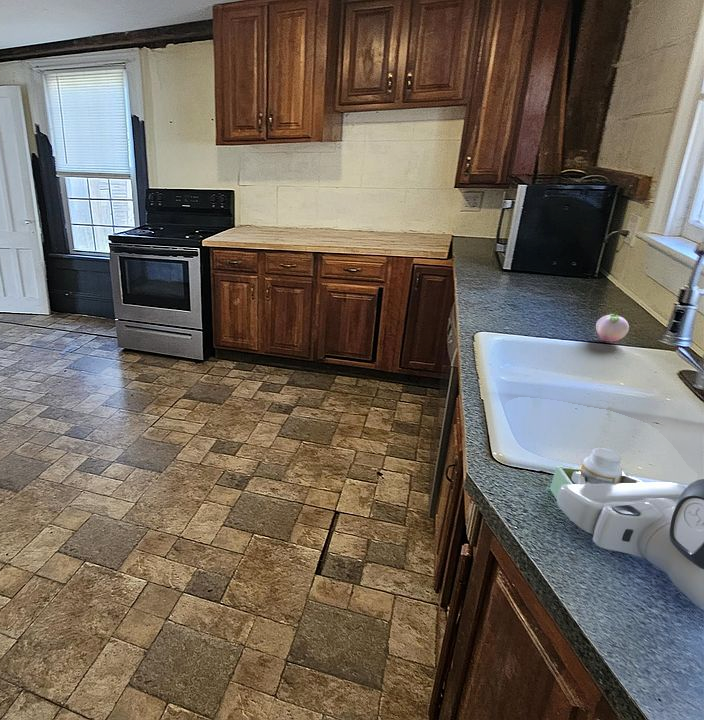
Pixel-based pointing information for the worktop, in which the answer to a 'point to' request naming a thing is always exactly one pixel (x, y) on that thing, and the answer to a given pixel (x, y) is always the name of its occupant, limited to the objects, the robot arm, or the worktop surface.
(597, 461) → the supplement bottle
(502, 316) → the worktop surface
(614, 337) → the decorative fruit
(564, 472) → the bin
